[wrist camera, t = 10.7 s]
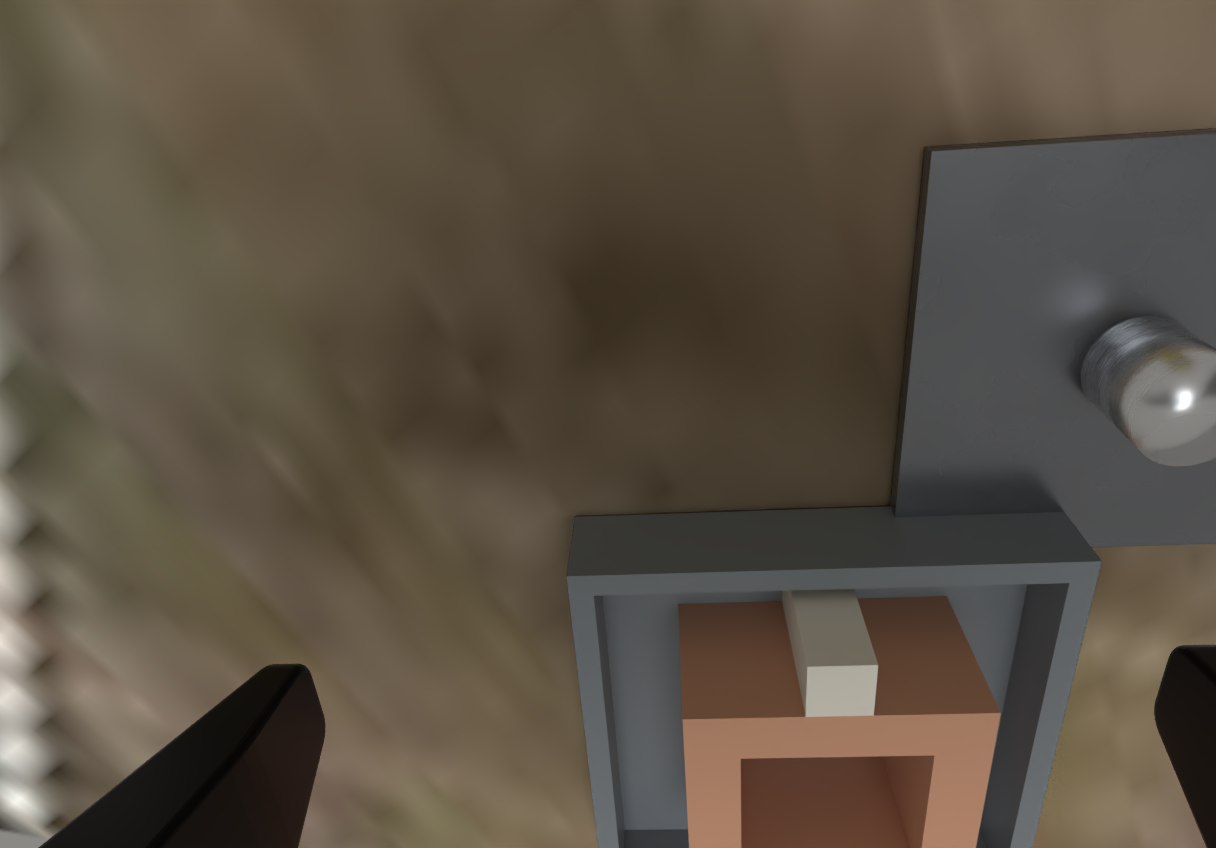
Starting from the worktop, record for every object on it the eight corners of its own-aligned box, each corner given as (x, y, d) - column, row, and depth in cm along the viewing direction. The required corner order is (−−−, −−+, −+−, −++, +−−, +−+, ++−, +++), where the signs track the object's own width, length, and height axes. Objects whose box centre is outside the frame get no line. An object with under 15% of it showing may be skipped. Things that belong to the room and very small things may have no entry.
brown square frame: (922, 780, 26) (964, 909, 22) (687, 783, 26) (691, 910, 23) (952, 548, 22) (1010, 661, 18) (675, 558, 22) (679, 669, 19)
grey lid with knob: (1440, 113, 17) (1577, 140, 15) (1290, 529, 22) (1374, 604, 19) (925, 146, 18) (970, 177, 15) (886, 541, 23) (916, 615, 20)
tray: (1056, 500, 22) (1101, 560, 20) (990, 823, 27) (1019, 898, 25) (574, 517, 23) (566, 576, 20) (608, 825, 28) (604, 898, 26)
